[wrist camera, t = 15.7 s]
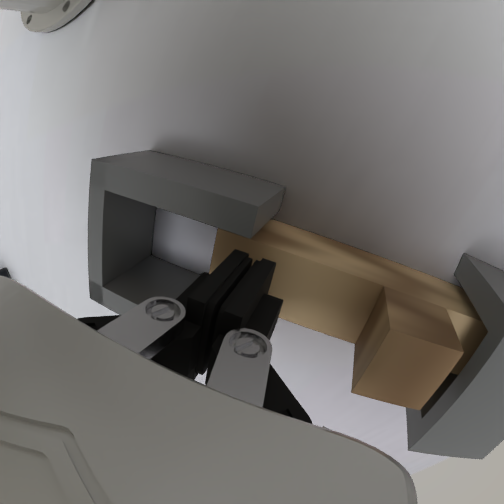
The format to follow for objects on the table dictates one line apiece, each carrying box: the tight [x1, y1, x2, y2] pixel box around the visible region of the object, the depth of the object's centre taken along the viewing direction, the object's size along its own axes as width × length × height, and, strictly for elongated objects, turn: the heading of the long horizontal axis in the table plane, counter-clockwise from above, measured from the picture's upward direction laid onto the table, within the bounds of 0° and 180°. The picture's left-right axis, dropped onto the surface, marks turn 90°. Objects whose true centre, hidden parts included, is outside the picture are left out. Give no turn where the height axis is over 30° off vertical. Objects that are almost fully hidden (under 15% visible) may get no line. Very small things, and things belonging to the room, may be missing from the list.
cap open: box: [88, 150, 286, 315], centre depth 15 cm, size 8×7×4 cm
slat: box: [209, 219, 488, 410], centre depth 12 cm, size 15×3×6 cm, turn 76°
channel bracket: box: [406, 253, 504, 459], centre depth 11 cm, size 5×7×6 cm
